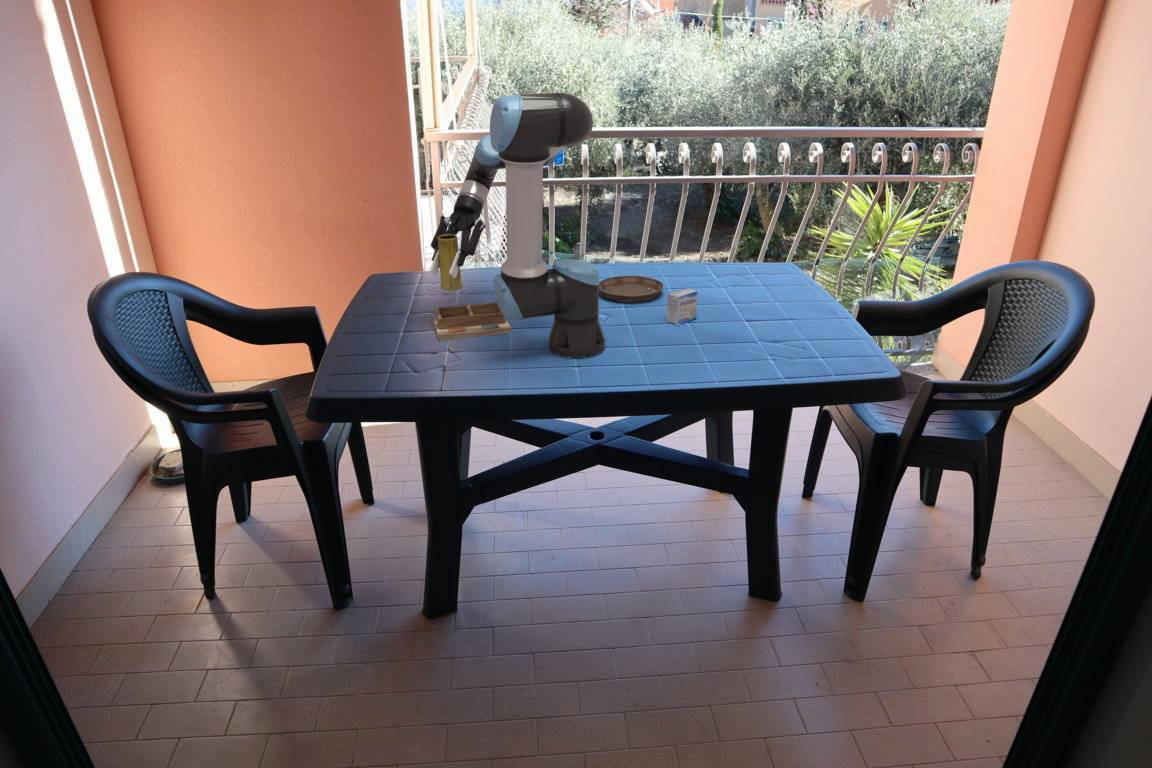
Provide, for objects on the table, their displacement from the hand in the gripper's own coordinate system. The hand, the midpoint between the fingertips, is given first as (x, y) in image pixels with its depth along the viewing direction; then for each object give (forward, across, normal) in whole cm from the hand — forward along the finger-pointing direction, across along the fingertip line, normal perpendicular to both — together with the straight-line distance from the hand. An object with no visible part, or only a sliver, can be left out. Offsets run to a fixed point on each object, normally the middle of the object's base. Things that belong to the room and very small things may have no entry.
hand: (442, 274), depth 212 cm
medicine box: (-12, -57, -37) cm, 69 cm away
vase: (+1, 0, -6) cm, 6 cm away
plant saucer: (-23, -35, -48) cm, 64 cm away
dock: (+8, -5, -16) cm, 18 cm away
